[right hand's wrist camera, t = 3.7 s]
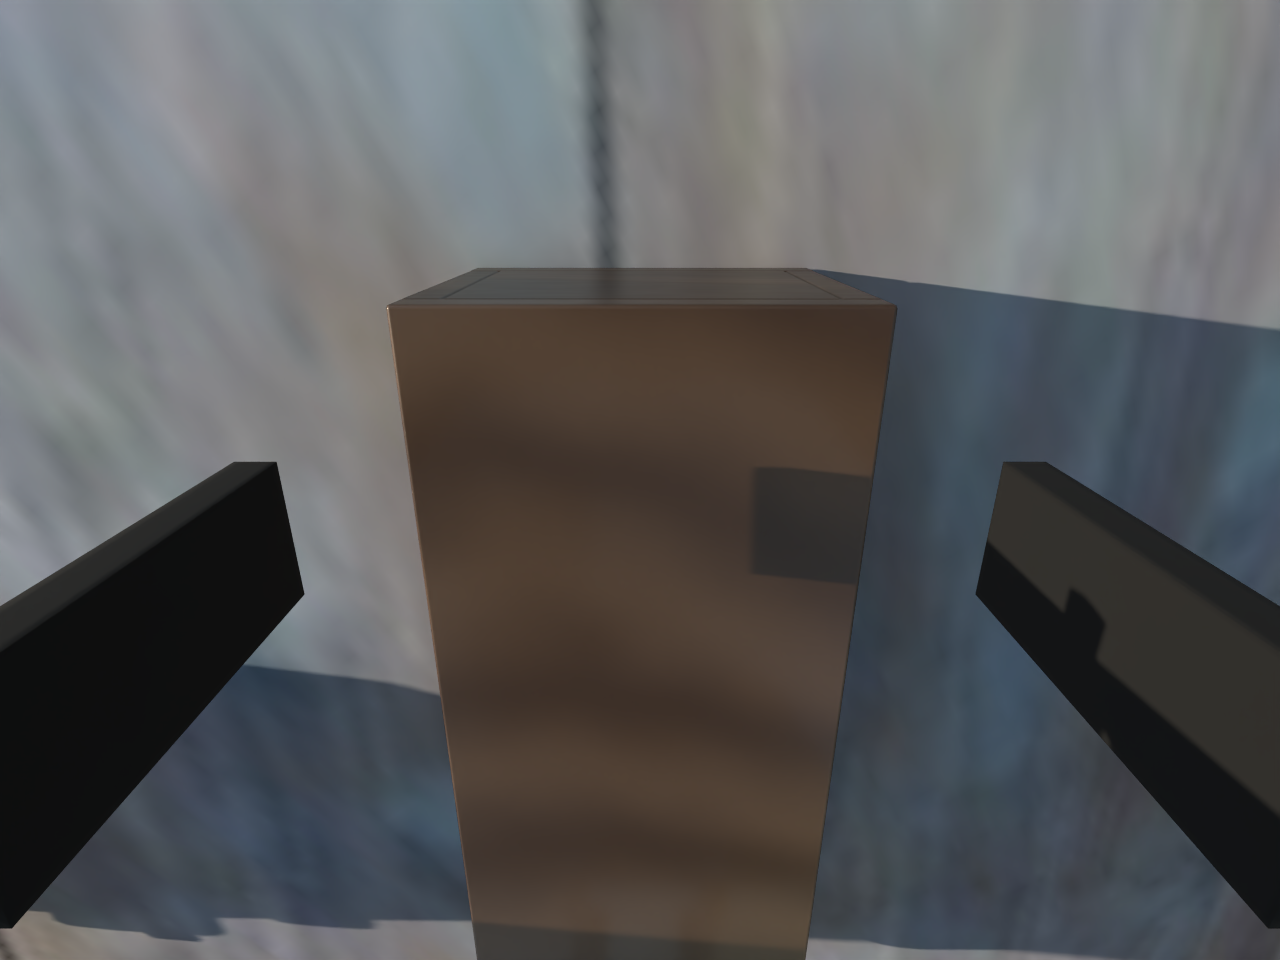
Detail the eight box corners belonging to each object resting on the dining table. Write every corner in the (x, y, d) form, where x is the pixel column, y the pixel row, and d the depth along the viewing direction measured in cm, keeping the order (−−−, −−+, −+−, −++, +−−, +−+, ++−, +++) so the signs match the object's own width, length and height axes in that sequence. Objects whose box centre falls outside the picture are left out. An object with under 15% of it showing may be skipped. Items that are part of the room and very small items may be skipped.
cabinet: (761, 781, 29) (802, 983, 22) (521, 780, 29) (479, 982, 22) (808, 268, 21) (899, 305, 14) (476, 267, 21) (384, 305, 14)
